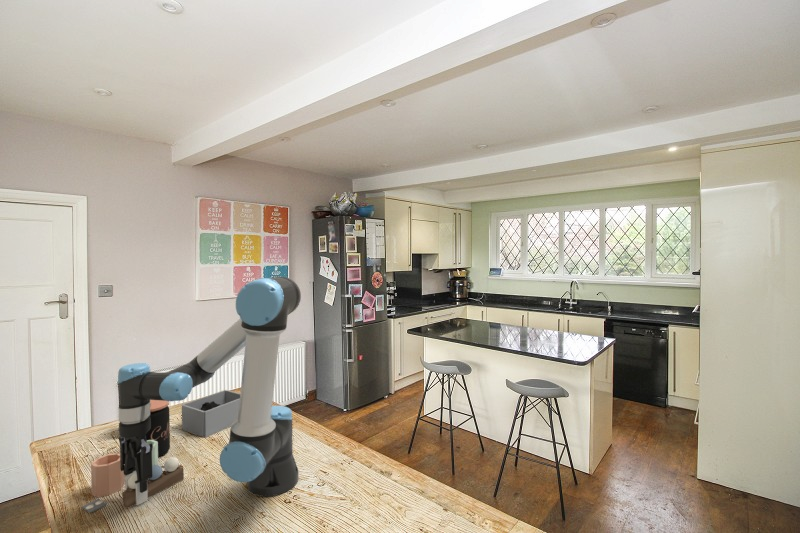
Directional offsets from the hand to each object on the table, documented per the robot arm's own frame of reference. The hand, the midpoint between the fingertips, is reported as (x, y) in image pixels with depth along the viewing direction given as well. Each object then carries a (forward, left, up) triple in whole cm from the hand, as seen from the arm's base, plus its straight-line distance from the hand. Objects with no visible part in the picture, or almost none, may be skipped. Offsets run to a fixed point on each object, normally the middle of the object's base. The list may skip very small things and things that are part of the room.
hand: (136, 498), depth 110 cm
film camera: (+27, -43, -1) cm, 51 cm away
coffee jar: (+24, -17, -1) cm, 29 cm away
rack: (0, -5, -1) cm, 5 cm away
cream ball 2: (0, -10, +3) cm, 11 cm away
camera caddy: (+27, -44, -1) cm, 52 cm away
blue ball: (0, -5, +3) cm, 6 cm away
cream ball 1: (0, 0, +3) cm, 3 cm away
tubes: (+12, -2, -1) cm, 12 cm away
